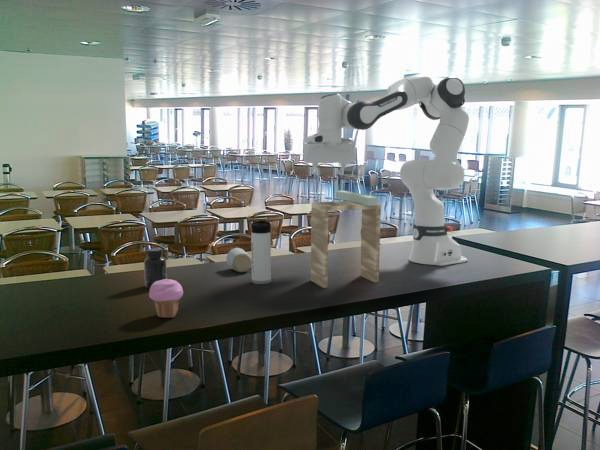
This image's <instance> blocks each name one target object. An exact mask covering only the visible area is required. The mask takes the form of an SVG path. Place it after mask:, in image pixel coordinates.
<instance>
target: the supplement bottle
mask: <svg viewBox="0 0 600 450" xmlns="http://www.w3.org/2000/svg"><path fill="white" fill-rule="evenodd" d="M143 267H144V268H143V270H144V273H143V274H144V286H145V288H146V289H149V290H150V288H151V285H152V284H153V283H154V282H156V281H160V280H163V279H168V274H167V272H168V271H167V270H168V269H167V259H166V258H165V257H164V256H163V249H162V248H158V247H156V248H155V247H153V248H148V249H146V258H145V259H144V261H143Z"/></svg>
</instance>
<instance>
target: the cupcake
mask: <svg viewBox="0 0 600 450" xmlns="http://www.w3.org/2000/svg"><path fill="white" fill-rule="evenodd" d="M183 295H184V290H183V286H182V285H181V284H180V282H178V280H174V279H170V278H169V279H168V278H167V279H163V280H160V281H156V282H154V283H153V284H152V285H151V288H150V289H149V294H148V296H149V299H151V300H153V304H154V307H155V311H156V312H155V313H156V315H157V317H159V318H168V319H169V318H170V319H171V318H172V319H173V318H174V317H176V315H177V314H178V310H179V304H180V299H182V298H183Z"/></svg>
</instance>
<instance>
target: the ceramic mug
mask: <svg viewBox="0 0 600 450" xmlns="http://www.w3.org/2000/svg"><path fill="white" fill-rule="evenodd" d="M226 263H227V265H228V266H229V267H230V268H231V269H232V270H234V272H237V273H246V272H247V271H249V269H251V270H252V262H251V256H250V255H249V253H247V252H246V251H245V250H244V249H243V248H240V247H234V248H231V249H230V250H229V251H228V253H227V255H226Z"/></svg>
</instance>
